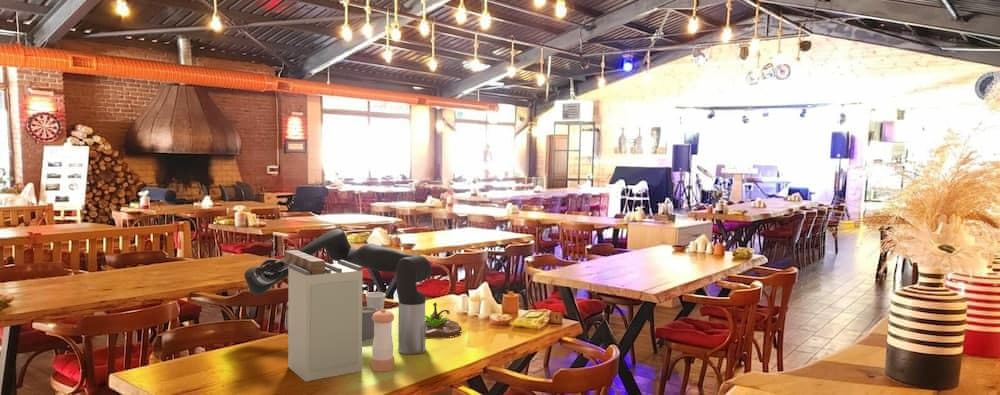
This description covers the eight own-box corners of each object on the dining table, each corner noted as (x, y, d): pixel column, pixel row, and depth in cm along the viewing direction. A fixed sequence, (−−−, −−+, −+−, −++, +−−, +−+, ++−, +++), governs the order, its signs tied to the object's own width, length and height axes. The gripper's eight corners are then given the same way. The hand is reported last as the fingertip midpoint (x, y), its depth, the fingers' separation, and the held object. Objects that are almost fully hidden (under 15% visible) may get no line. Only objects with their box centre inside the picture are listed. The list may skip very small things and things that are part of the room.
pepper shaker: (373, 363, 211) (374, 306, 209) (396, 364, 210) (396, 306, 209) (368, 371, 203) (369, 311, 202) (391, 371, 203) (392, 311, 202)
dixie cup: (375, 321, 266) (375, 297, 265) (361, 318, 270) (361, 294, 270) (389, 317, 273) (389, 293, 272) (375, 314, 277) (375, 291, 277)
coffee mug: (381, 337, 242) (381, 310, 242) (355, 340, 237) (355, 313, 237) (369, 328, 254) (369, 303, 253) (344, 331, 249) (344, 306, 248)
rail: (284, 262, 213) (284, 250, 213) (296, 261, 215) (296, 250, 215) (312, 275, 192) (312, 261, 192) (325, 273, 194) (325, 260, 194)
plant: (458, 324, 264) (458, 297, 264) (463, 338, 245) (464, 308, 244) (409, 325, 261) (409, 298, 260) (410, 339, 242) (411, 309, 241)
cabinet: (288, 367, 206) (288, 263, 204) (341, 357, 216) (342, 259, 214) (306, 382, 192) (306, 271, 190) (362, 371, 203) (363, 267, 201)
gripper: (245, 268, 223) (257, 258, 210) (284, 255, 232) (298, 245, 219) (252, 288, 222) (265, 279, 209) (291, 274, 231) (305, 265, 218)
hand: (282, 262), depth 214 cm, fingers open, 8 cm apart
